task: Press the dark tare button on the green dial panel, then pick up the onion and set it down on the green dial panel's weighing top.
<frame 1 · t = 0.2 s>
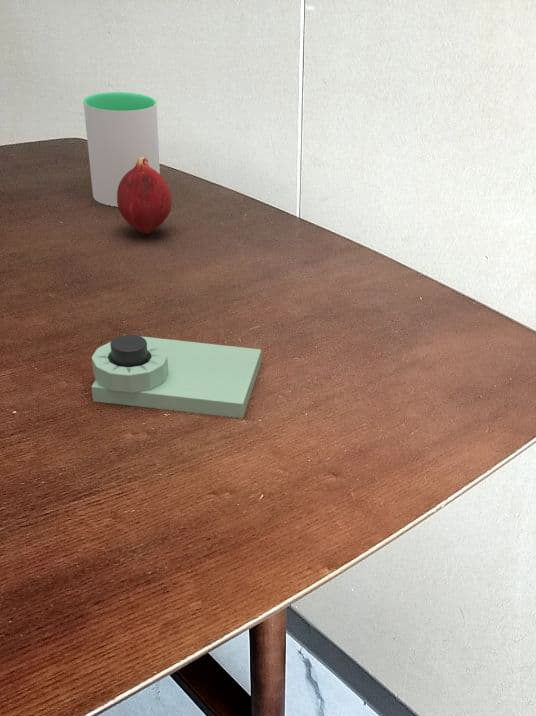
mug: (126, 191, 106), on the table
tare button: (129, 351, 68), point 3 cm above the table, slide at 0.1 cm
onion: (146, 235, 95), on the table
green dial panel: (180, 382, 71), on the table
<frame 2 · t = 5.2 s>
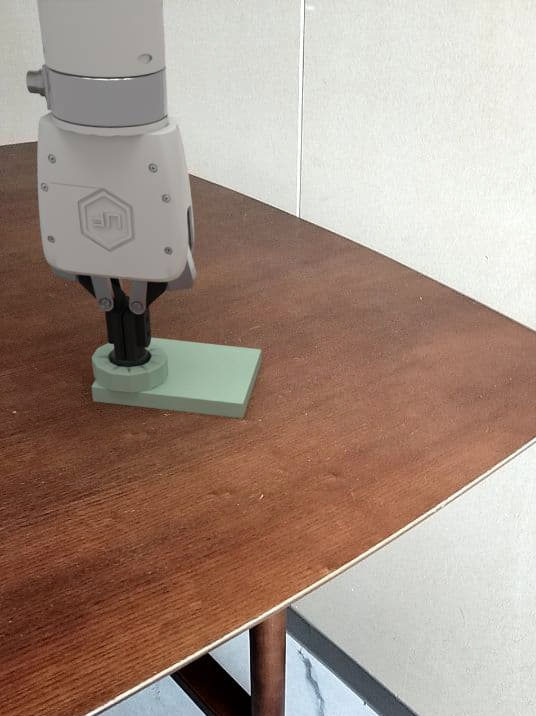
hand: (131, 352, 68), 3 cm above the table, tool pointing down, fingers closed
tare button: (130, 361, 68), point 3 cm above the table, slide at -0.7 cm, touching gripper
everything else where it was.
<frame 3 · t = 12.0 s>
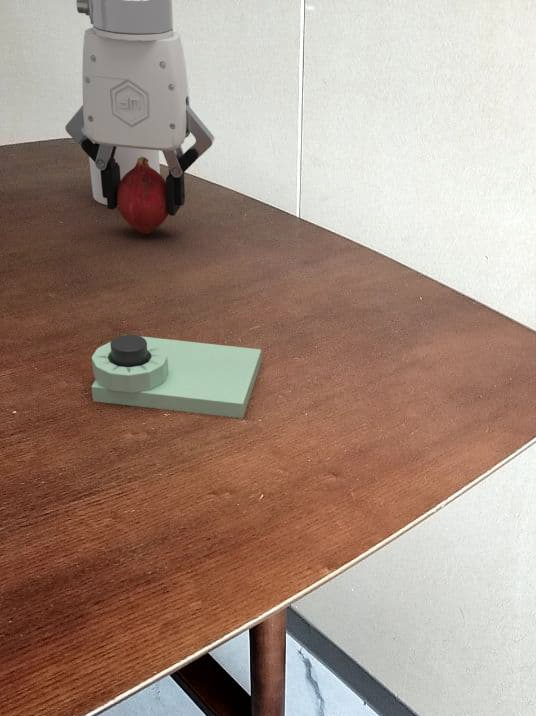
hand: (144, 206, 93), 3 cm above the table, tool pointing down, fingers closed on onion, 5 cm apart
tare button: (129, 351, 68), point 3 cm above the table, slide at 0.1 cm
onion: (146, 235, 95), on the table, touching gripper
everything else where it was.
when the fingers open (4 cm above the table, at t = 20.5 s): onion stays where it is, resting on green dial panel.
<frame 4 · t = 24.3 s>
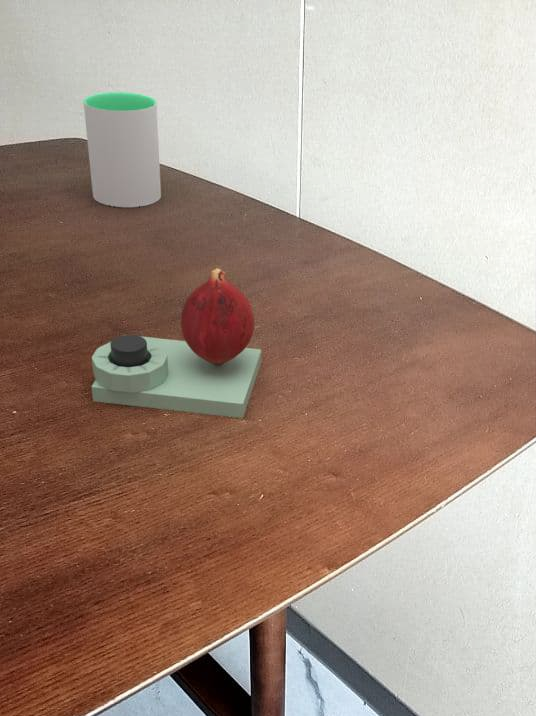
onion: (218, 366, 71), point 1 cm above the table, touching green dial panel
everything else where it was.
at the end: onion inside the target area on the green dial panel (2.4 cm from its centre), point 1.2 cm above the green dial panel's base; onion touching green dial panel; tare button pushed in 0.9 cm at the most during the clip, back to where it started at the end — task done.
